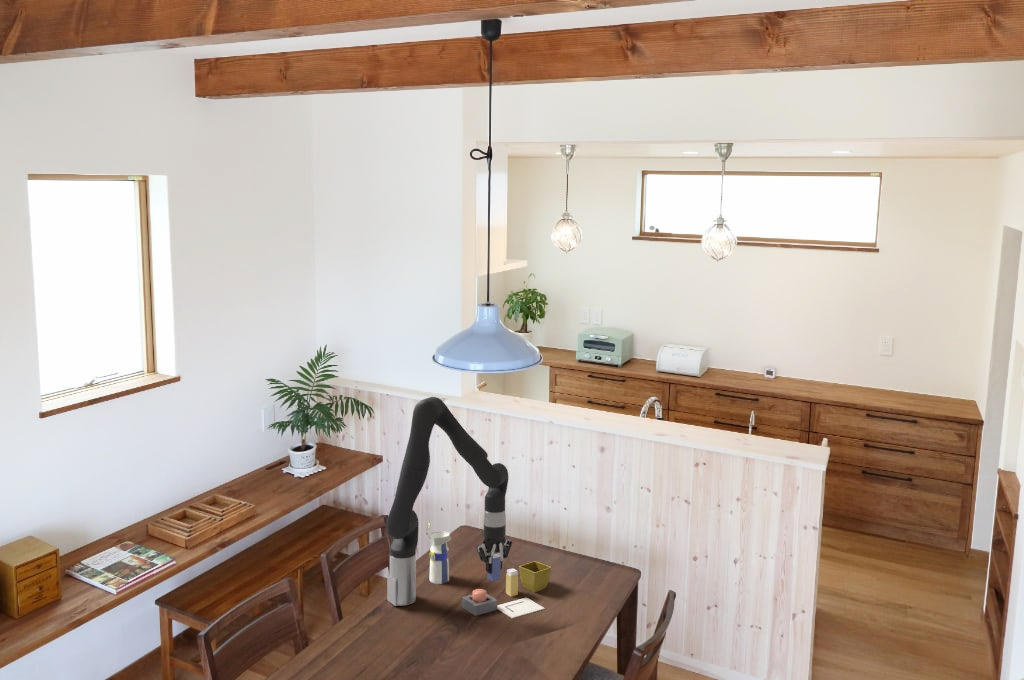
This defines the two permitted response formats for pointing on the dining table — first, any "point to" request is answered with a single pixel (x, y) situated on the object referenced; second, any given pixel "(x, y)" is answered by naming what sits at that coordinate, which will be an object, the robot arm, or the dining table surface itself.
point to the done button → (479, 595)
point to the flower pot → (534, 575)
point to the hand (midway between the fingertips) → (494, 571)
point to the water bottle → (439, 556)
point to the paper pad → (519, 607)
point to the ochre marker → (512, 582)
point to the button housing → (479, 605)
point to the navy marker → (495, 568)
